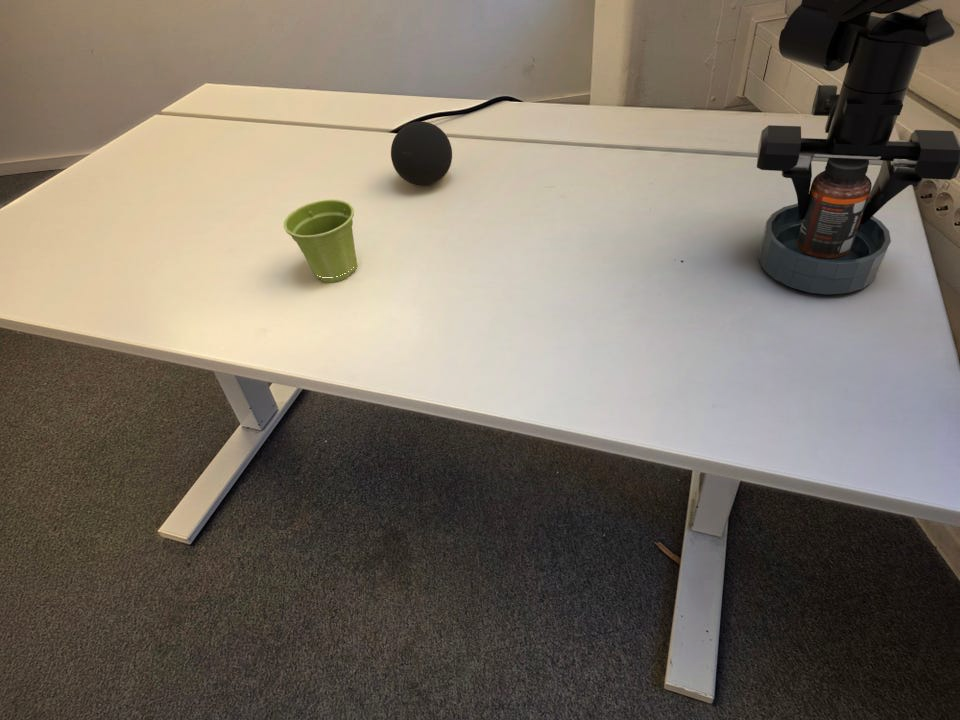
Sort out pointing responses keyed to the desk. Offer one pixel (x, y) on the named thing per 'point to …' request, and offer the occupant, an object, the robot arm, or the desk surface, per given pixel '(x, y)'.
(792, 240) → the bowl
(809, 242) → the supplement bottle
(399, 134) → the speaker
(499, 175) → the desk surface
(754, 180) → the desk surface
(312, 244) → the plant pot
